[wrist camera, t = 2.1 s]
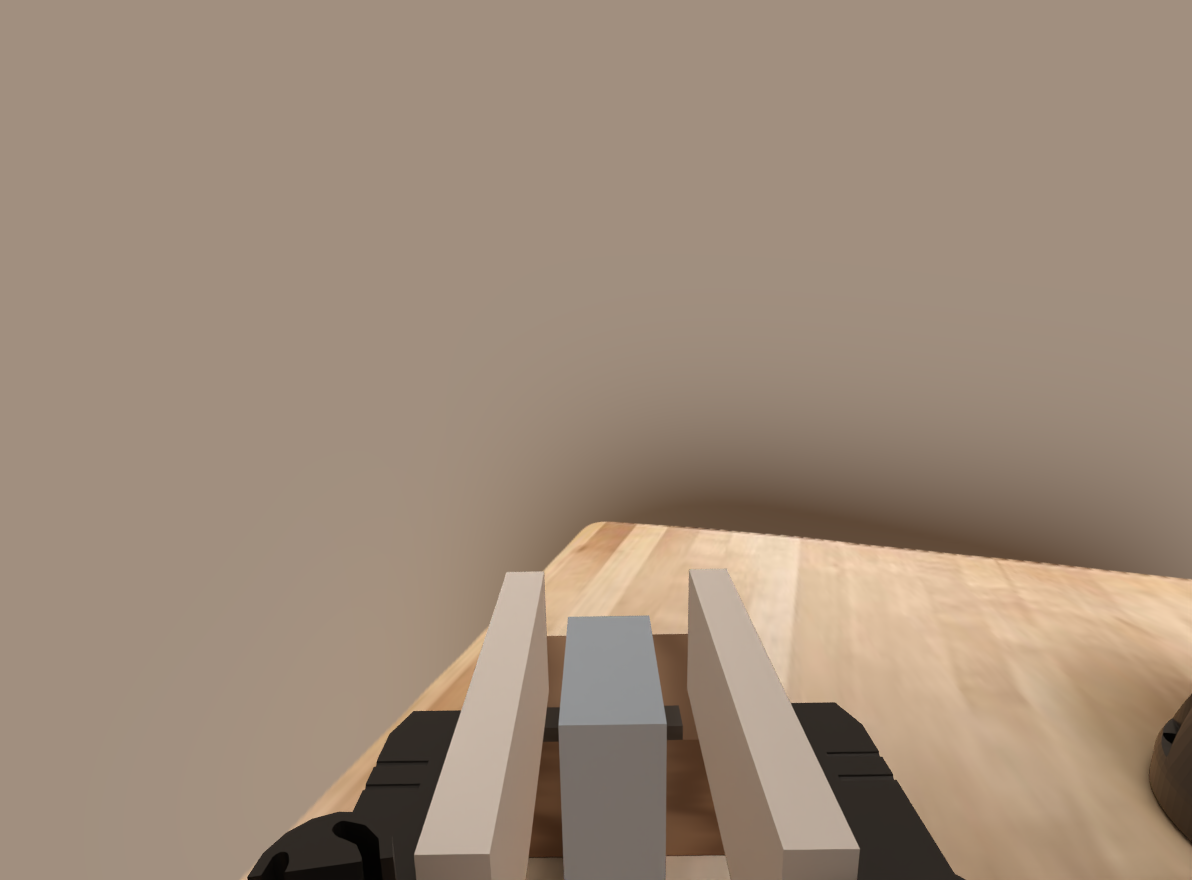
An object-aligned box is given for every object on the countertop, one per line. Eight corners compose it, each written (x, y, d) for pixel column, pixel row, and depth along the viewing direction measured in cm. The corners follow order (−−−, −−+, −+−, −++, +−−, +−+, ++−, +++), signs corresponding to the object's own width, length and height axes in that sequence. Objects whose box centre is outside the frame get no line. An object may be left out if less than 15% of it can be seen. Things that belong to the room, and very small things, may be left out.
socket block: (711, 726, 43) (714, 622, 41) (745, 854, 33) (751, 724, 31) (506, 729, 43) (500, 625, 41) (479, 858, 33) (470, 729, 31)
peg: (649, 834, 34) (649, 615, 31) (664, 996, 26) (666, 723, 23) (575, 836, 34) (568, 617, 31) (568, 997, 26) (558, 725, 23)
